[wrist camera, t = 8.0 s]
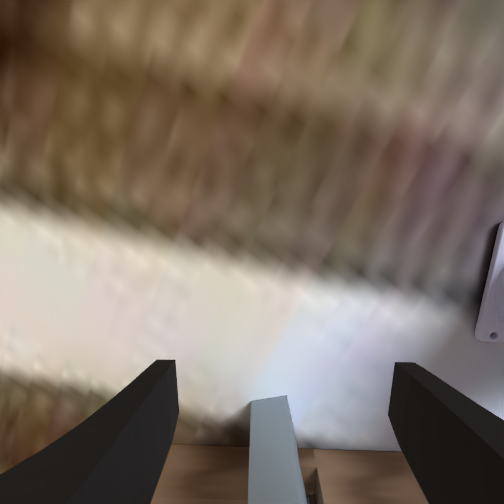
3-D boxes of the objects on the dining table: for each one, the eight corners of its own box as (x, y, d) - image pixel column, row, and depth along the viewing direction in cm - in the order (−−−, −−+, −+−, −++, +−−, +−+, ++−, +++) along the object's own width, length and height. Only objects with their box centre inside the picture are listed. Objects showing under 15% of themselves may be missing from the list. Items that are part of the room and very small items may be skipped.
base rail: (404, 452, 24) (432, 507, 20) (399, 478, 25) (425, 537, 21) (165, 444, 24) (147, 496, 20) (167, 470, 25) (150, 527, 21)
